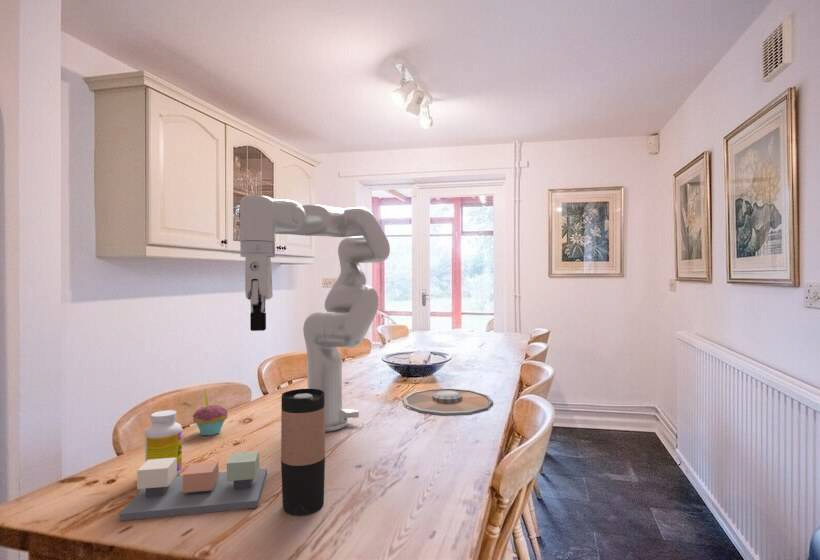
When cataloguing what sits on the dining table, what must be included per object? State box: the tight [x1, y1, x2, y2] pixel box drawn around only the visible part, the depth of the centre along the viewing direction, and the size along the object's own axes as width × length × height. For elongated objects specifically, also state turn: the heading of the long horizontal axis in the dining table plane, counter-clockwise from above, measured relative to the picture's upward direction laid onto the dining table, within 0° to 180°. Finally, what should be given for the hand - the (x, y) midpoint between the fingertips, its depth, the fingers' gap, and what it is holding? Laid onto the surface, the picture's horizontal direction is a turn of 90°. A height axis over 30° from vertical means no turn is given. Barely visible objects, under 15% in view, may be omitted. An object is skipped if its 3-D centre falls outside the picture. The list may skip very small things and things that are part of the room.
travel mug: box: [280, 388, 326, 517], centre depth 79 cm, size 8×8×20 cm
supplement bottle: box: [144, 409, 183, 476], centre depth 92 cm, size 7×7×13 cm
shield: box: [402, 388, 494, 416], centre depth 147 cm, size 30×3×30 cm
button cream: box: [136, 457, 178, 490], centre depth 82 cm, size 5×5×3 cm
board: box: [119, 467, 268, 522], centre depth 83 cm, size 22×14×3 cm, turn 101°
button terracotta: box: [182, 460, 220, 493], centre depth 83 cm, size 5×5×3 cm
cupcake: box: [192, 389, 229, 436], centre depth 118 cm, size 9×8×12 cm
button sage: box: [226, 451, 260, 481], centre depth 85 cm, size 5×5×3 cm
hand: (258, 330), depth 102 cm, fingers closed
